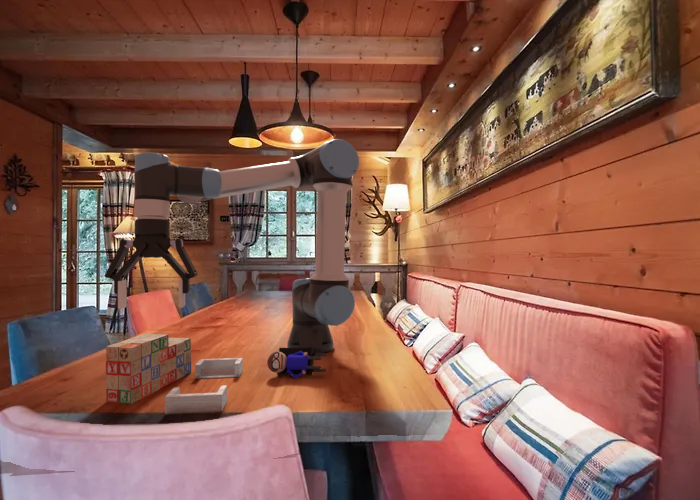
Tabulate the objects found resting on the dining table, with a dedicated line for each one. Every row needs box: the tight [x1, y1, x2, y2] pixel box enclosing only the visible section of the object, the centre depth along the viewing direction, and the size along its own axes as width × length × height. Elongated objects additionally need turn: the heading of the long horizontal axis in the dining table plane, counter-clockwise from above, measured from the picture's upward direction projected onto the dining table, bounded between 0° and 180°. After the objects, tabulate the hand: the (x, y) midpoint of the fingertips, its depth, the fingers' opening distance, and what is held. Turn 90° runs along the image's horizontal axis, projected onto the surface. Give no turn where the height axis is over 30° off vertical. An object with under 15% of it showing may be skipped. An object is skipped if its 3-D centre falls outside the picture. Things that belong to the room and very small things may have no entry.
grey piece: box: [194, 357, 244, 380], centre depth 100 cm, size 11×5×4 cm, turn 97°
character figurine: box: [266, 347, 327, 380], centre depth 99 cm, size 8×7×15 cm
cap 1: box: [164, 384, 228, 416], centre depth 79 cm, size 11×5×4 cm, turn 97°
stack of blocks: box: [105, 333, 192, 405], centre depth 92 cm, size 21×6×12 cm, turn 169°
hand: (152, 307), depth 92 cm, fingers open, 13 cm apart
